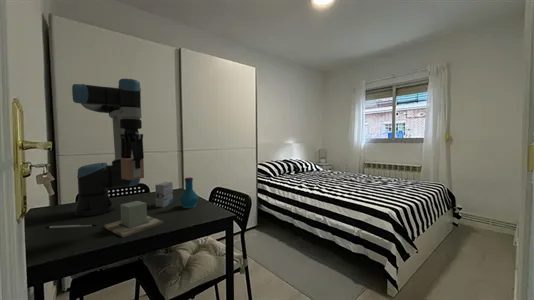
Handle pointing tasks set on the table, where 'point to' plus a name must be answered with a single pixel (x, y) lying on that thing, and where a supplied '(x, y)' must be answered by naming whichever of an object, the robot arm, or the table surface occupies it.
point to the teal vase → (189, 195)
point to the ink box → (164, 194)
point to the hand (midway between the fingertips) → (132, 175)
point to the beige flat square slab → (126, 231)
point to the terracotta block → (130, 169)
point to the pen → (72, 226)
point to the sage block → (133, 213)
